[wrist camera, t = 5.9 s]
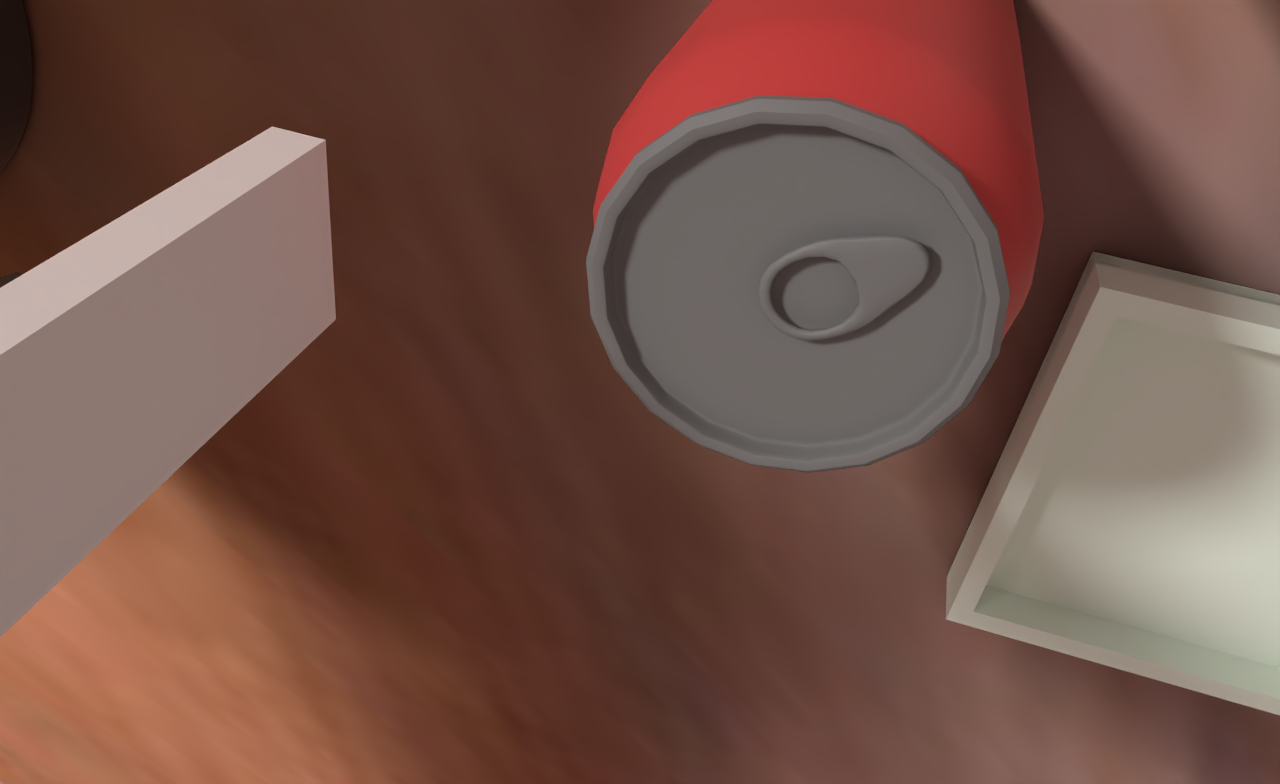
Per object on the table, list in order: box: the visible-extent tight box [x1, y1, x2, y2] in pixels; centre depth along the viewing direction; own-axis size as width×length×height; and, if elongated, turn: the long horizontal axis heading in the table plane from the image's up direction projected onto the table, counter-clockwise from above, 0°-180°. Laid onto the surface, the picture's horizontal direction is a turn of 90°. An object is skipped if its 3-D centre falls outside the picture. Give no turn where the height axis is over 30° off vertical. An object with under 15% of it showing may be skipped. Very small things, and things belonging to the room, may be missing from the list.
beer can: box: [586, 0, 1044, 473], centre depth 18 cm, size 7×7×12 cm
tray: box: [946, 252, 1280, 715], centre depth 26 cm, size 11×11×2 cm
